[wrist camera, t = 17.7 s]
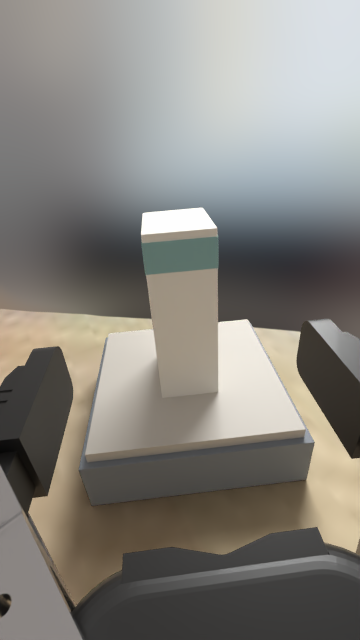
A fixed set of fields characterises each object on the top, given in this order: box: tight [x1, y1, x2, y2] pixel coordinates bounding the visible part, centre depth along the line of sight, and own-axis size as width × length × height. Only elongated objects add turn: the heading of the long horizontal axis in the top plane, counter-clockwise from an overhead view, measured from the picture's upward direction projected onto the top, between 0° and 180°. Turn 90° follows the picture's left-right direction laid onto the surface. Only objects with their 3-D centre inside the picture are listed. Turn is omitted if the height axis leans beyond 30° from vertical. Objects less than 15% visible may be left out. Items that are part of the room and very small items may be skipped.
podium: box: [79, 320, 315, 506], centre depth 29 cm, size 16×16×5 cm
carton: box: [141, 208, 218, 398], centre depth 25 cm, size 5×6×13 cm
